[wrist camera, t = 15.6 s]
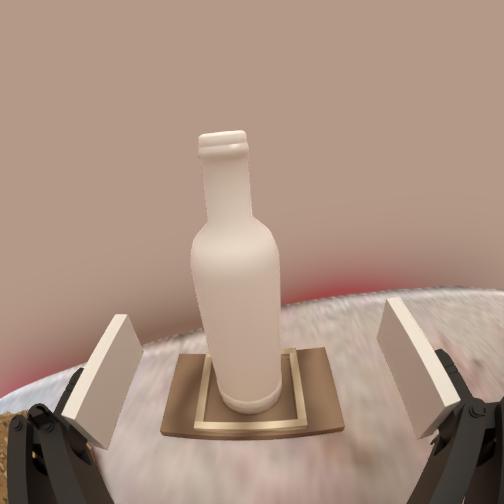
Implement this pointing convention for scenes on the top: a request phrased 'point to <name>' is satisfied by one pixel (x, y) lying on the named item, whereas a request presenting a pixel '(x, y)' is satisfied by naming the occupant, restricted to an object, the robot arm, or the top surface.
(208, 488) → the top surface
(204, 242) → the bottle
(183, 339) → the top surface
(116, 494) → the top surface
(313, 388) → the serving board
